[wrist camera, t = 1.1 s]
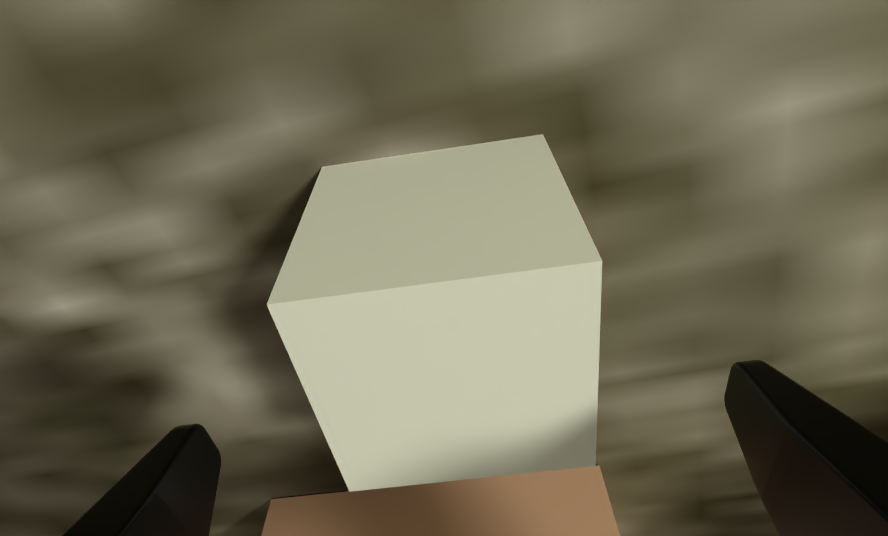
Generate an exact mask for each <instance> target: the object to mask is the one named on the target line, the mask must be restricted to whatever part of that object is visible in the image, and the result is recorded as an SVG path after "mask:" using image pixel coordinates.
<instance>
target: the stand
mask: <svg viewBox="0 0 888 536" xmlns="http://www.w3.org/2000/svg"><path fill="white" fill-rule="evenodd" d="M261 536H620V534H619V531H618V527H617V524H616V521H615V517H614V514H613V511H612V507H611V504H610V500H609V497H608V494H607V490H606V487H605V483H604V480H603V477H602V473H601V470H600V466H599V465H598V466H591V467H581V468H572V469H562V470H553V471H543V472H533V473H524V474H514V475H504V476H495V477H485V478H476V479H466V480H456V481H447V482H437V483H428V484H418V485H408V486H399V487H389V488H380V489H370V490H360V491H351V492H349V491H346V492H337V493H327V494H317V495H308V496H298V497H288V498H279V499H271V501H270V505H269V509H268V513H267V516H266V520H265V524H264V528H263V531H262V535H261Z"/></svg>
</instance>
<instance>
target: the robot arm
mask: <svg viewBox="0 0 888 536" xmlns="http://www.w3.org/2000/svg"><path fill="white" fill-rule="evenodd" d="M724 401H725V407H726V410H727V413H728V415H729V418H730V421H731V423H732V426H733V428H734V431H735V434H736V436H737V439H738V441H739V444H740V447H741V449H742V452H743V454H744V457H745V460H746V462H747V465H748V467H749V470H750V473H751V475H752V478H753V480H754V483H755V485H756V488H757V490H758V493H759V495H760V497H761V500H762V502H763V504H764V506H765V508H766V510H767V512H768V514H769V516H770V518H771V520H772V522H773V524H774V526H775V528H776V530H777V532H778V534H779V536H888V442H887V441H886V440H884V439H883V438H881V437H880V436H878V435H876V434H875V433H873V432H872V431H870V430H869V429H867V428H866V427H864V426H863V425H861V424H860V423H858V422H856V421H855V420H853V419H852V418H850V417H849V416H847V415H846V414H844V413H843V412H841V411H840V410H838V409H836V408H835V407H833V406H832V405H830V404H829V403H827V402H826V401H824V400H823V399H821V398H819V397H818V396H816V395H815V394H813V393H812V392H810V391H809V390H807V389H806V388H804V387H803V386H801V385H799V384H798V383H796V382H795V381H793V380H792V379H790V378H789V377H787V376H786V375H784V374H782V373H781V372H779V371H778V370H776V369H775V368H773V367H772V366H770V365H769V364H767V363H765V362H763V361H760V360H751V361H743V362H736V363H734V364H733V366H732V367H731V370H730V374H729V379H728V383H727V387H726V391H725V397H724ZM220 467H221V456H220V453H219V450H218V448H217V447H216V445H215V444H214V442H213V441H212V439H211V438H210V436H209V434H208V433H207V431H206V430H205V428H204V427H203V426H202V425H200V424H190V425H182V426H178V427H175V428H174V429H172V430H171V431H170V432H169V433H168V434H167V435H166V436H165V437H164V438H163V439H162V440H161V441H160V442H159V443H158V444H157V445H156V446H155V447H154V448H153V449H151V450H150V451H149V452H148V453H147V454H146V455H145V456H144V457H143V458H142V459H141V460H140V461H139V462H138V463H137V464H136V465H135V466H134V467H133V468H132V469H131V470H130V471H129V472H128V473H127V474H126V475H125V476H124V477H122V478H121V479H120V480H119V481H118V482H117V483H116V484H115V485H114V486H113V487H112V488H111V489H110V490H109V491H108V492H107V493H106V494H105V495H104V496H103V497H102V498H101V499H100V500H99V501H98V502H97V503H96V504H95V505H93V506H92V507H91V508H90V509H89V510H88V511H87V512H86V513H85V514H84V515H83V516H82V517H81V518H80V519H79V520H78V521H77V522H76V523H75V524H74V525H73V526H72V527H71V528H70V529H69V530H68V531H67V532H66V533H64V534H63V535H62V536H209V531H210V525H211V519H212V514H213V508H214V502H215V496H216V490H217V484H218V479H219V473H220Z"/></svg>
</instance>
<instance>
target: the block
mask: <svg viewBox="0 0 888 536" xmlns="http://www.w3.org/2000/svg"><path fill="white" fill-rule="evenodd" d="M601 280H602V260H601V257H600V255H599V253H598V251H597V249H596V247H595V245H594V243H593V240H592V238H591V236H590V234H589V232H588V230H587V228H586V225H585V223H584V221H583V219H582V217H581V215H580V213H579V210H578V208H577V206H576V204H575V202H574V200H573V198H572V196H571V193H570V191H569V189H568V187H567V185H566V183H565V181H564V178H563V176H562V174H561V172H560V170H559V168H558V166H557V163H556V161H555V159H554V157H553V155H552V153H551V151H550V149H549V146H548V144H547V142H546V140H545V138H544V136H543V134H542V135H535V136H529V137H522V138H515V139H508V140H502V141H495V142H488V143H481V144H474V145H468V146H461V147H454V148H447V149H441V150H434V151H427V152H420V153H413V154H407V155H400V156H393V157H386V158H379V159H373V160H366V161H359V162H352V163H346V164H339V165H332V166H325V167H322V168H321V171H320V173H319V176H318V178H317V181H316V183H315V186H314V188H313V191H312V193H311V195H310V198H309V200H308V203H307V205H306V208H305V210H304V213H303V215H302V218H301V220H300V223H299V225H298V228H297V230H296V233H295V235H294V238H293V240H292V243H291V245H290V248H289V250H288V253H287V255H286V258H285V260H284V263H283V265H282V267H281V270H280V272H279V275H278V277H277V280H276V282H275V285H274V287H273V290H272V292H271V295H270V297H269V300H268V302H267V307H268V309H269V311H270V314H271V316H272V318H273V320H274V323H275V325H276V327H277V329H278V332H279V334H280V336H281V338H282V341H283V343H284V345H285V348H286V350H287V352H288V354H289V357H290V359H291V361H292V363H293V366H294V368H295V370H296V372H297V375H298V377H299V379H300V381H301V384H302V386H303V388H304V390H305V393H306V395H307V397H308V399H309V402H310V404H311V406H312V408H313V411H314V413H315V415H316V417H317V420H318V422H319V424H320V426H321V429H322V431H323V433H324V436H325V438H326V440H327V442H328V445H329V447H330V449H331V451H332V454H333V456H334V458H335V460H336V463H337V465H338V467H339V469H340V472H341V474H342V476H343V478H344V481H345V483H346V485H347V487H348V490H349V492H351V491H360V490H370V489H380V488H389V487H399V486H408V485H418V484H428V483H437V482H447V481H456V480H466V479H476V478H485V477H495V476H504V475H514V474H524V473H533V472H543V471H553V470H562V469H572V468H581V467H591V466H596V436H597V405H598V374H599V343H600V311H601Z"/></svg>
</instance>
